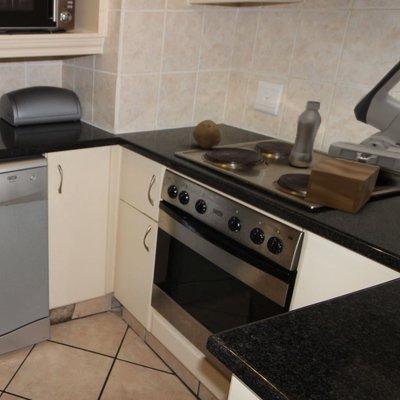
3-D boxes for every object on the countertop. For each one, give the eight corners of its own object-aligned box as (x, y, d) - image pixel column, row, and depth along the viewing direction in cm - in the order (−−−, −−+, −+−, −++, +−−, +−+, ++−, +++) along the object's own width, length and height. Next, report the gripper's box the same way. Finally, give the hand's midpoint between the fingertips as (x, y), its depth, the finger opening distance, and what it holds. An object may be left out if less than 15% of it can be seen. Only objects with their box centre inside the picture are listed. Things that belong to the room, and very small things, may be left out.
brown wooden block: (331, 179, 136) (338, 156, 133) (374, 189, 129) (381, 165, 126) (315, 191, 127) (321, 167, 124) (359, 202, 120) (367, 177, 118)
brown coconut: (187, 144, 171) (190, 117, 167) (210, 144, 171) (215, 116, 168) (197, 152, 162) (201, 123, 158) (222, 151, 163) (227, 122, 159)
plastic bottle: (314, 167, 149) (330, 103, 141) (303, 170, 145) (318, 105, 138) (294, 161, 154) (309, 99, 146) (283, 165, 150) (297, 101, 143)
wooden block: (321, 187, 132) (329, 157, 129) (369, 199, 125) (378, 168, 122) (303, 200, 124) (311, 168, 120) (354, 213, 116) (364, 180, 113)
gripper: (338, 134, 147) (324, 142, 138) (419, 148, 134) (409, 158, 125) (333, 153, 149) (318, 162, 141) (412, 169, 136) (401, 181, 127)
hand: (361, 161), depth 132 cm, fingers closed
